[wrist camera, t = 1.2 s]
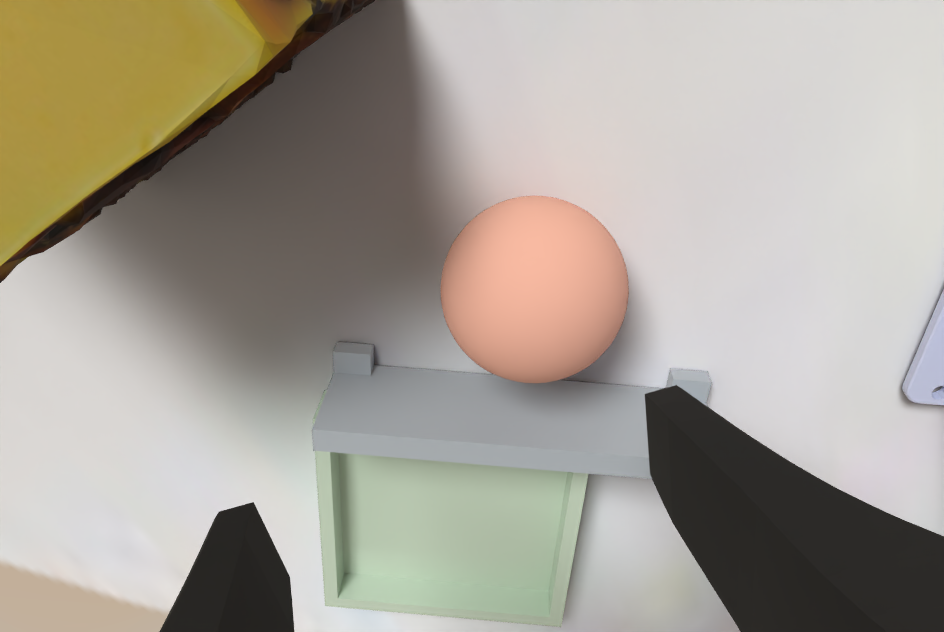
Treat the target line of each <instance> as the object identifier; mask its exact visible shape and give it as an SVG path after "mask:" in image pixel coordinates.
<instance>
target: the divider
mask: <svg viewBox="0 0 944 632" xmlns="http://www.w3.org/2000/svg"><path fill="white" fill-rule="evenodd" d="M333 366H334V373H333V376H332V378H331V381H330V384H329V386H328V389H327V391H326V394H325V397H324V399H323V402H322V404H321V407H320V410H319V412H318V415H317V417H316V420H315V423H314V425H313V428H312V439H313V451H323V452H335V453H347V454H359V455H371V456H383V457H395V458H407V459H419V460H431V461H443V462H455V463H467V464H479V465H490V466H502V467H514V468H526V469H538V470H550V471H562V472H574V473H586V474H598V475H610V476H622V477H634V478H646V479H652V477H651V475H650V467H649V452H648V437H647V422H646V407H645V394H646V393H649V392H653V391H657V390H660V389H664V388H651V387H639V386H627V385H614V384H602V383H590V382H577V381H565V380H557V381H552V382H547V383H523V382H516V381H512V380H508V379H505V378H502V377H500V376H497V375H491V374H479V373H466V372H454V371H441V370H429V369H417V368H404V367H392V366H380V365H374V345H372V344H359V343H347V342H337V343H336V345H335V348H334V350H333ZM711 384H712V382H711V379H710V376H709V373H708V371H695V370H683V369H670V372H669V376H668V381H667V385H666V388H667V387H671V386H675V385H677V386H679V387H680V388H682V389H683V390H685V391H686V392H688V393H689V394H690V395H692V396H693V397H695V398H696V399H697V400H699V401H700V402H702V403H703V404H704V405H706V406H707V403H706V402H707V398H708V395H709V391H710V387H711ZM707 407H708V406H707Z"/></svg>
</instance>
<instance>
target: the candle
mask: <svg viewBox="0 0 944 632" xmlns="http://www.w3.org/2000/svg"><path fill="white" fill-rule="evenodd" d="M374 1H375V0H0V283H1V282H2V281H3V280H4V279H5V278H6V277H7V276H8V275H9V274H10V273H11V271H12V270H13V269H14V268H15V267H16V266H17V265H18V264H19V263H21V262H22V261H23V260H25V259H26V258H27V257H29V256H32V255H35V254H38V253H42V252H44V251H46V250H47V249H49V248H51V247H52V246H54V245H56V244H57V243H59V242H60V241H62V240H64V239H65V238H67V237H69V236H70V235H72V234H73V233H75V232H76V231H78V230H80V228H81V227H82V226H83V225H85V224H86V223H88V222H89V221H91V220H92V219H94V218H95V217H97V216H98V215H100V214H101V211H102V207H106V206H109V205H113V204H116V202H117V200H118V199H120V198H122V197H125V195H126V193H127V192H129V191H130V189H133V188H134V187H135V186H136V184H138V183H139V182H141V181H143V180H148V179H149V178H150V177H152V176H153V175H154V174H155V173H156V172H158V171H160V170H161V169H162V167H163V166H164V165H165V164H166V163H167V162H168V161H169V160H170V159H172V158H174V157H175V156H177V155H178V154H180V153H181V152H183V151H184V150H186V149H187V148H189V147H190V146H191V145H193V144H194V143H196V142H197V141H198V139H200V138H203V137H205V136H207V134H208V133H209V131H210V130H211V129H213V128H215V127H216V126H217V125H219V124H221V123H222V122H223V121H224V120H225V119H227V118H228V117H229V116H230V115H231V114H232V113H233V112H234V111H235V110H236V109H238V108H240V107H241V106H242V105H243V104H244V103H245V102H247V101H248V100H249V99H251V98H253V97H255V96H256V95H257V94H258V93H259V92H260V91H261V90H263V89H264V88H265V87H267V86H268V85H270V84H272V83H273V81H274V77H275V72H279V73H285V72H287V71H289V70H291V65H292V61H293V58H294V57H296V56H297V55H298V54H299V53H300V52H301V51H302V50H303V49H305V48H306V47H308V46H310V45H311V44H313V43H314V42H315V41H317V40H318V39H319V38H320V37H322V36H323V35H324V34H326V33H327V32H329V31H330V30H331V29H333V28H334V27H336V26H337V25H339V24H340V23H342V22H344V21H345V20H347V19H348V18H350V17H351V16H352V15H353V14H354V13H357V12H359V11H361V10H362V8H363V7H366V6H367V5H369V4H370V3H372V2H374Z"/></svg>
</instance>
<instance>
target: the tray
mask: <svg viewBox="0 0 944 632" xmlns="http://www.w3.org/2000/svg"><path fill="white" fill-rule="evenodd" d="M326 391H327V390H324V392H323V395H322V398H321V400H320V403H319V405H318V408H317V410H316V413H315V416H314V418H313V425H314V423H315V420H316V417H317V415H318V412H319V410H320V407H321V404H322V402H323V399H324V397H325V394H326ZM315 460H316V475H317V490H318V505H319V520H320V536H321V551H322V566H323V581H324V596H325V606H331V607H342V608H353V609H365V610H376V611H387V612H398V613H410V614H421V615H432V616H444V617H455V618H466V619H477V620H489V621H500V622H511V623H523V624H534V625H545V626H556V627H561V624H562V619H563V613H564V608H565V602H566V596H567V591H568V585H569V580H570V574H571V569H572V563H573V558H574V552H575V546H576V541H577V535H578V530H579V524H580V519H581V513H582V507H583V502H584V496H585V491H586V485H587V480H588V474H586V473H574V472H562V471H550V470H538V469H526V468H514V467H502V466H490V465H479V464H467V463H455V462H443V461H431V460H419V459H407V458H395V457H383V456H371V455H359V454H347V453H335V452H323V451H315Z"/></svg>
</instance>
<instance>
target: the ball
mask: <svg viewBox="0 0 944 632" xmlns="http://www.w3.org/2000/svg"><path fill="white" fill-rule="evenodd" d="M628 294H629V288H628V275H627V270H626V265H625V262H624V259H623V257H622V254H621V251H620V249H619V247H618V245H617V244H616V242H615V240H614V238H613V237H612V236H611V234H610V233H609V232H608V230H607V229H606V228H605V227H604V226H603V225H602V224H601V223H600V222H599V221H598V220H597V219H596V218H595V217H594V216H592V215H591V214H590V213H588V212H587V211H585V210H584V209H582V208H580V207H578V206H576V205H574V204H571V203H569V202H567V201H564V200H560V199H557V198H553V197H546V196H524V197H517V198H513V199H509V200H506V201H503V202H500V203H498V204H496V205H494V206H492V207H490V208H488V209H486V210H484V211H483V212H481V213H480V214H479V215H477V216H476V217H475V218H473V219H472V220H471V221H470V222H469V223H468V224H467V225H466V226H465V227H464V229H463V230H462V231H461V232H460V234H459V235H458V236H457V238H456V239H455V241H454V242H453V244H452V246H451V248H450V250H449V252H448V255H447V257H446V260H445V263H444V267H443V271H442V278H441V302H442V308H443V313H444V317H445V320H446V323H447V325H448V327H449V329H450V331H451V333H452V335H453V337H454V339H455V340H456V342H457V343H458V345H459V346H460V348H461V349H462V350H463V351H464V352H465V353H466V354H467V355H468V356H469V357H470V358H471V359H472V360H473V361H474V362H475V363H477V364H478V365H479V366H481V367H482V368H484V369H485V370H487V371H489V372H491V373H493V374H495V375H497V376H500V377H502V378H505V379H508V380H512V381H516V382H523V383H547V382H552V381H557V380H560V379H564V378H567V377H569V376H572V375H574V374H576V373H578V372H580V371H582V370H583V369H585V368H587V367H588V366H589V365H591V364H592V363H593V362H595V361H596V360H597V359H598V358H599V357H600V356H601V355H602V354H603V353H604V352H605V351H606V350H607V348H608V347H609V346H610V345H611V343H612V342H613V340H614V339H615V337H616V335H617V333H618V331H619V329H620V327H621V325H622V322H623V320H624V317H625V313H626V309H627V303H628Z"/></svg>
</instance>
